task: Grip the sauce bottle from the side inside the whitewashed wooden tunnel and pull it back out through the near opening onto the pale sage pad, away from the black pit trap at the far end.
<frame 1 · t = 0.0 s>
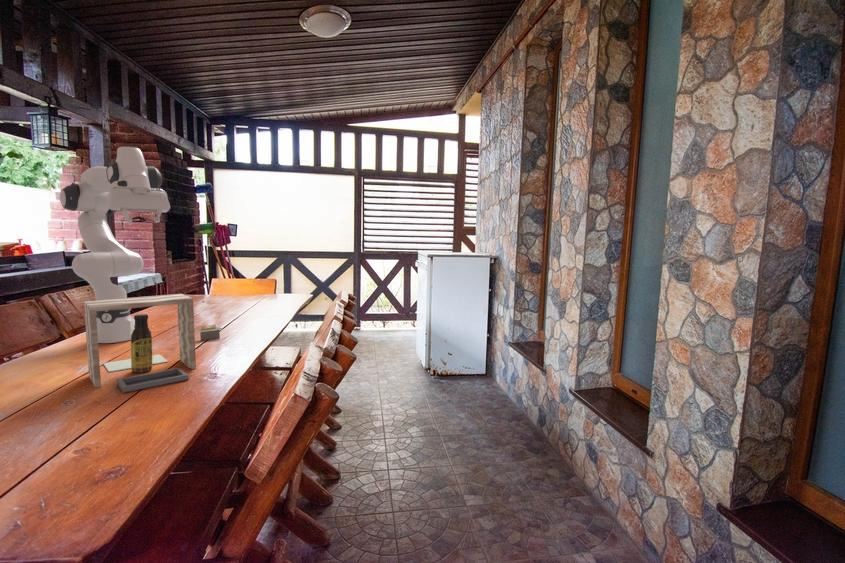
hand: (143, 221, 163), 52 cm above the table, tool tilted 20°, fingers open, 8 cm apart
sauce bottle: (142, 371, 151), on the table
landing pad: (136, 363, 159), on the table
pit trap: (153, 382, 140), on the table
tunnel: (144, 372, 149), on the table
platform: (209, 340, 196), on the table
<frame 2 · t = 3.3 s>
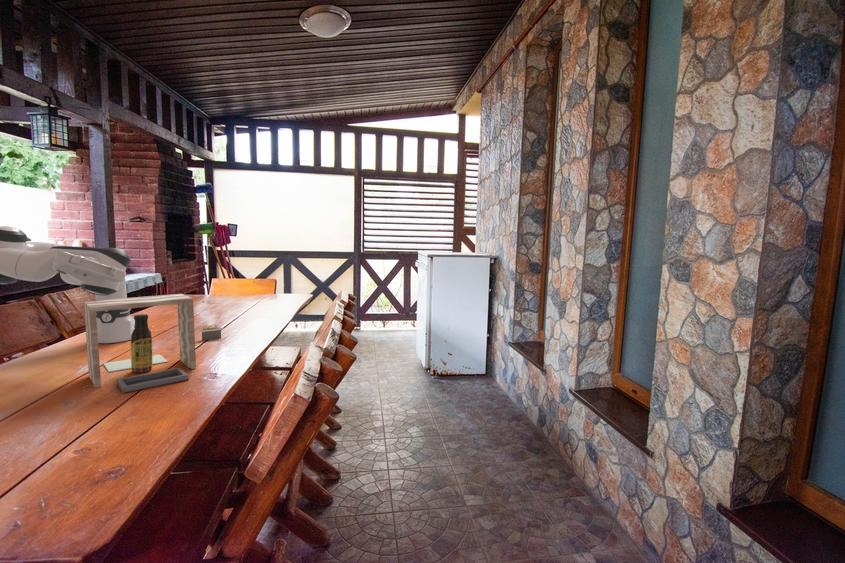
hand: (98, 264, 143), 37 cm above the table, tool horizontal, fingers open, 8 cm apart
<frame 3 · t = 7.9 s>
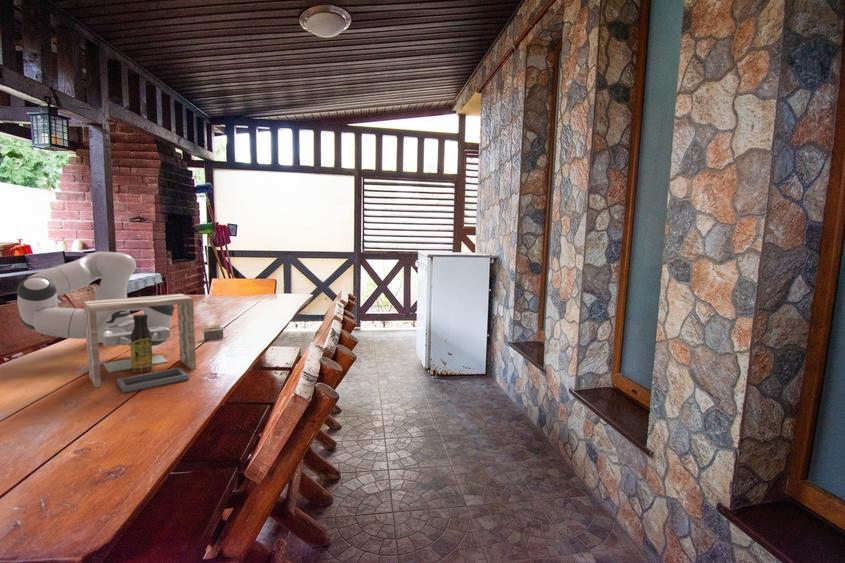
hand: (141, 340, 149), 11 cm above the table, tool horizontal, fingers closed on sauce bottle, 6 cm apart
sauce bottle: (142, 371, 151), on the table, touching gripper
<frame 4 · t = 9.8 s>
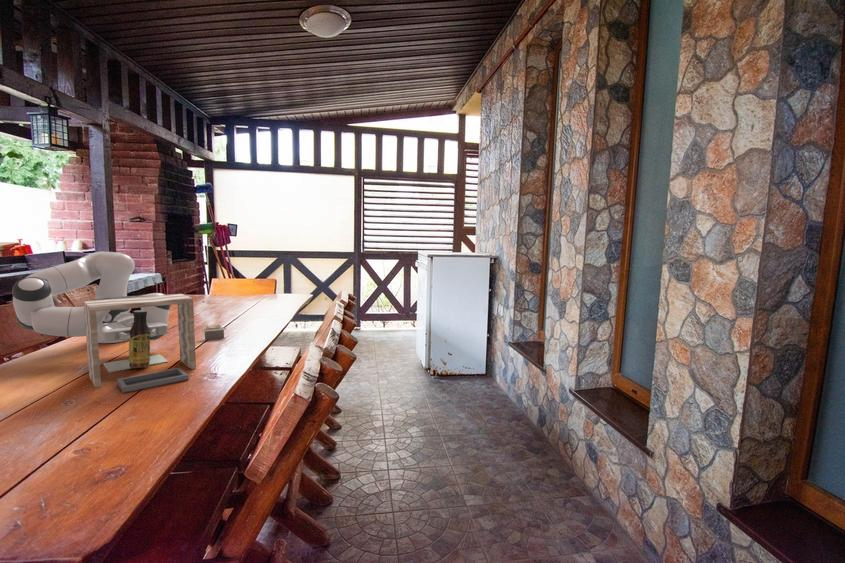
hand: (140, 335, 151), 12 cm above the table, tool horizontal, fingers closed on sauce bottle, 6 cm apart
sauce bottle: (140, 366, 153), point 1 cm above the table, touching gripper
when the fingers open (12 cm above the table, at t = 12.1 s): sauce bottle stays where it is, resting on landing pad.
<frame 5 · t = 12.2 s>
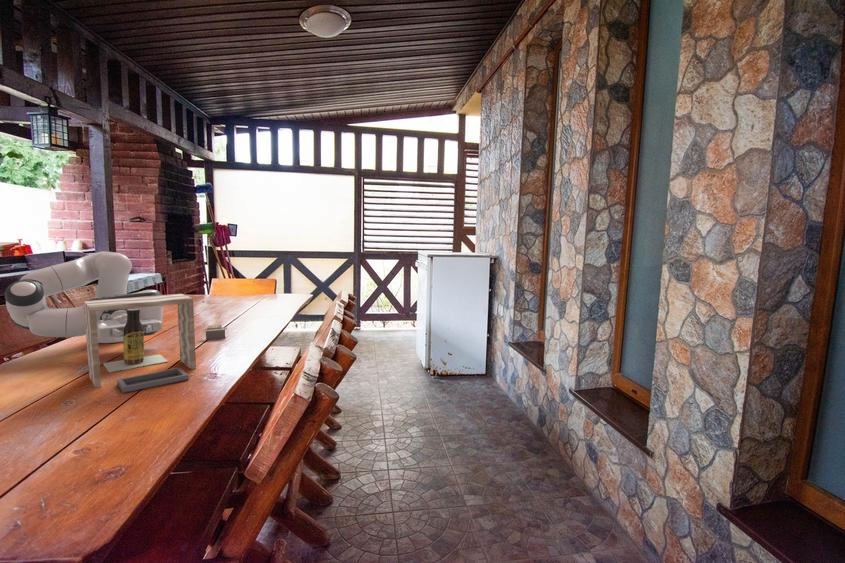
hand: (134, 332, 157), 12 cm above the table, tool horizontal, fingers open, 7 cm apart
sauce bottle: (134, 363, 158), resting on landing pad
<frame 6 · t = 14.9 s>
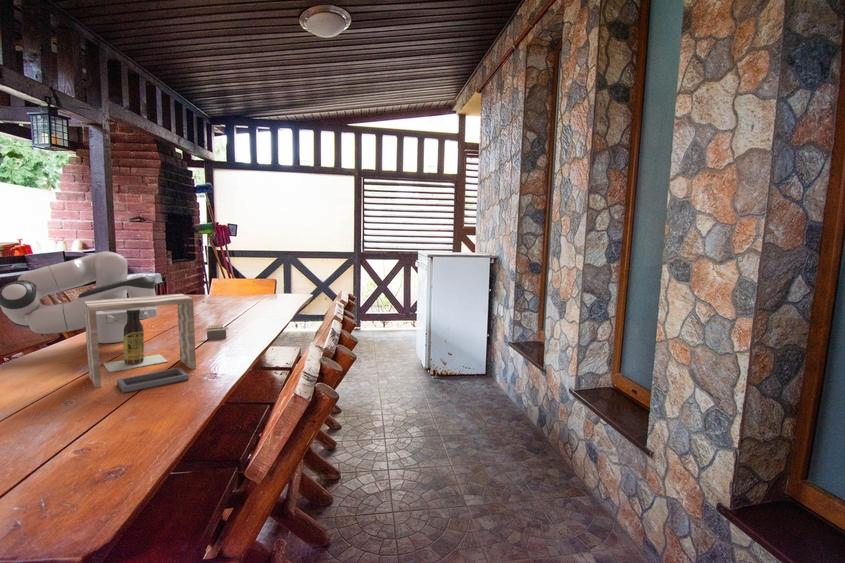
hand: (130, 317, 162), 16 cm above the table, tool horizontal, fingers open, 8 cm apart
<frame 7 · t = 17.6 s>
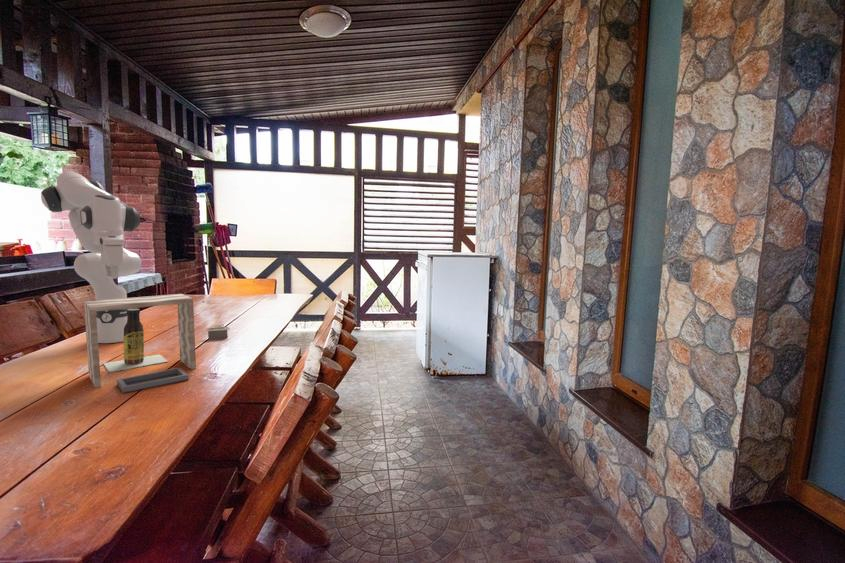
hand: (112, 277, 159), 31 cm above the table, tool pointing down, fingers open, 8 cm apart
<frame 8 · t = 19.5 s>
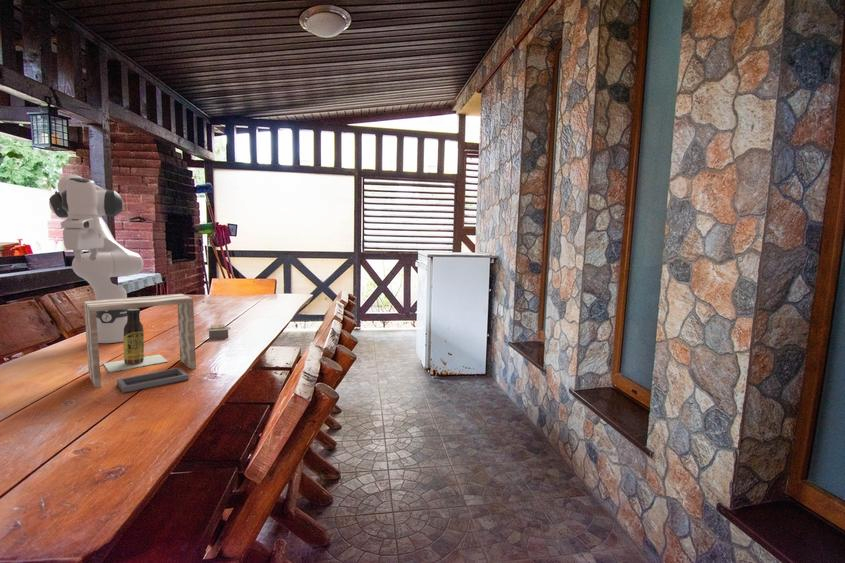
hand: (86, 261, 157), 37 cm above the table, tool pointing down, fingers open, 8 cm apart
at the end: sauce bottle 0.3 cm from the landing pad (horizontally); sauce bottle tilted 0°; the gripper is holding nothing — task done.
